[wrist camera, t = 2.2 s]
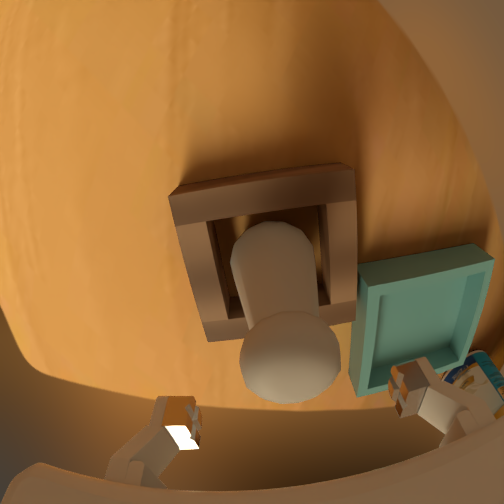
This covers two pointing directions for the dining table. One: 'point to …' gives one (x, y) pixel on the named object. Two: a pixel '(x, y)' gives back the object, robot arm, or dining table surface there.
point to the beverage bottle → (480, 380)
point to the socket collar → (258, 201)
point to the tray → (416, 312)
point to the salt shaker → (282, 315)
